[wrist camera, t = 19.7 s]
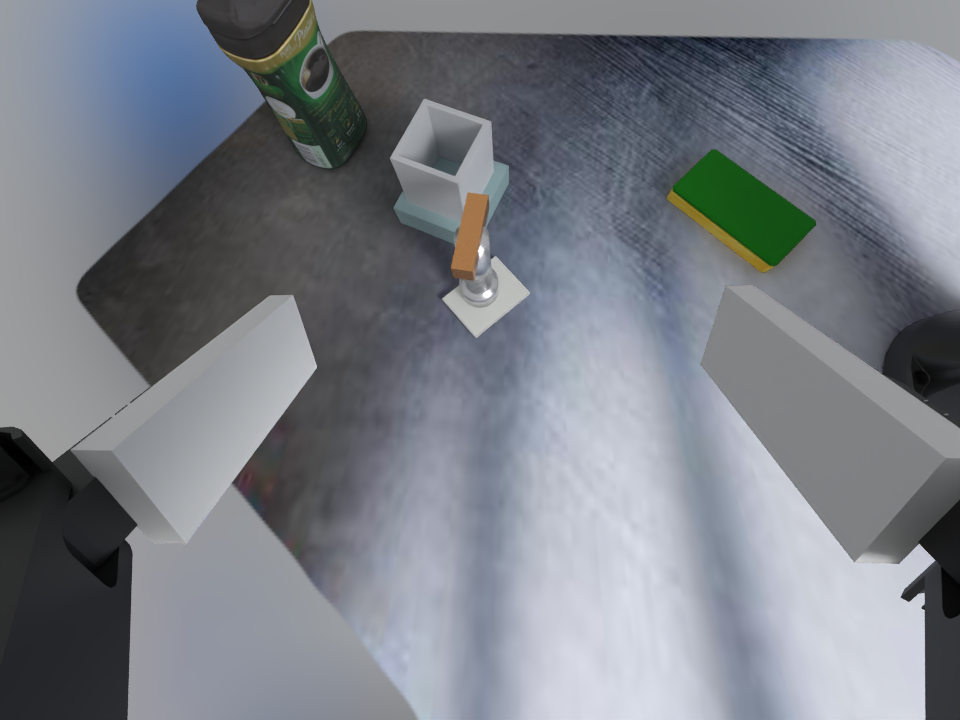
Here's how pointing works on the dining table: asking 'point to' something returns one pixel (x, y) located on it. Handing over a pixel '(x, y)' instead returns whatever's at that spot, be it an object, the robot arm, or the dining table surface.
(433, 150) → the square tube
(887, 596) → the dining table surface
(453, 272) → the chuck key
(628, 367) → the dining table surface
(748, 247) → the dish sponge
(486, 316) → the mat
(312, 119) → the coffee jar
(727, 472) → the dining table surface
